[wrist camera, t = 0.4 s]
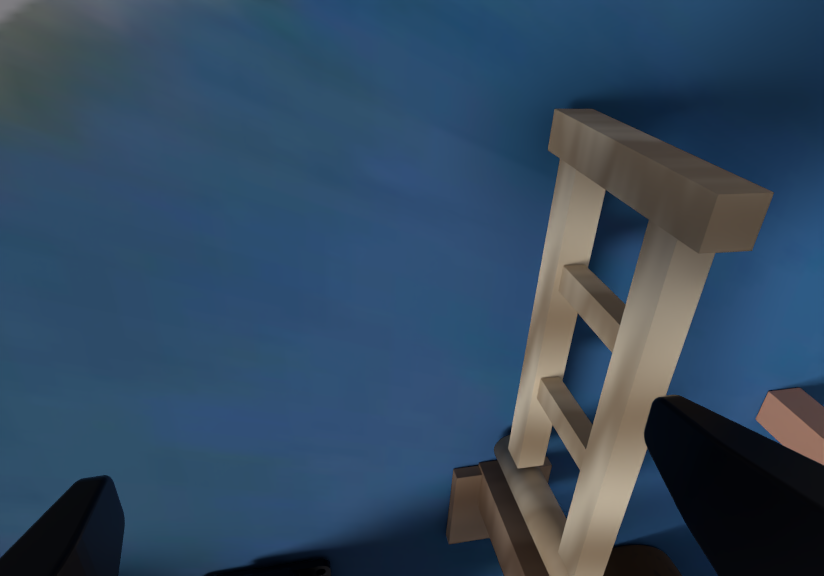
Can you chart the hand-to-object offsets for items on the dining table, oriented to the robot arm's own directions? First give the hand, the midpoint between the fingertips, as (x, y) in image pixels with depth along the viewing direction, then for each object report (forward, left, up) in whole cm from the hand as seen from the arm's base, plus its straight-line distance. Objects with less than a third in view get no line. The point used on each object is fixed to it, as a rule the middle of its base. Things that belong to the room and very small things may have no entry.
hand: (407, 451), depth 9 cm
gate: (-5, -8, -12) cm, 15 cm away
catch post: (-13, -24, -12) cm, 30 cm away
